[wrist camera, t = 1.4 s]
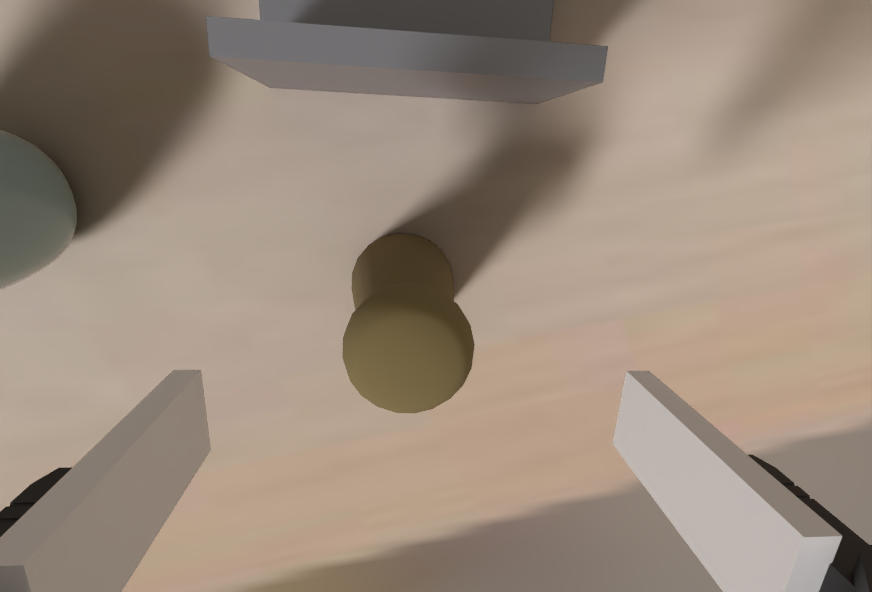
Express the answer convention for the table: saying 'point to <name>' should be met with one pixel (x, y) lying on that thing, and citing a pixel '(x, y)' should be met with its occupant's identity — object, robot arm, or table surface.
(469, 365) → the cork
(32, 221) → the cup
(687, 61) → the table surface
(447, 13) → the rack
